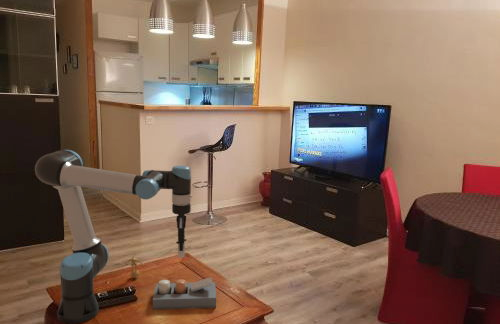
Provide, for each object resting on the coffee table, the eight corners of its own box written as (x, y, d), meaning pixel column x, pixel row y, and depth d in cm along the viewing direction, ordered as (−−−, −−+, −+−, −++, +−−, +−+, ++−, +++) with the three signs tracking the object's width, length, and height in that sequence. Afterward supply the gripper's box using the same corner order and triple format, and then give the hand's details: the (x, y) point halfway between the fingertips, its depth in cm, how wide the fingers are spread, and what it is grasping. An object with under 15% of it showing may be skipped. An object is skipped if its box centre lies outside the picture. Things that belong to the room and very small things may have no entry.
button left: (158, 294, 168) (158, 285, 167) (159, 289, 172) (159, 279, 171) (169, 294, 168) (169, 284, 167) (170, 289, 173) (170, 279, 172)
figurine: (144, 276, 192) (144, 252, 190) (141, 282, 187) (141, 257, 184) (127, 275, 192) (126, 252, 190) (124, 281, 186) (123, 257, 184)
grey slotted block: (152, 309, 164) (152, 296, 163) (156, 292, 177) (156, 280, 176) (216, 307, 167) (216, 295, 166) (214, 291, 181) (215, 279, 180)
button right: (174, 294, 169) (175, 284, 168) (175, 289, 173) (175, 279, 172) (185, 294, 169) (186, 284, 168) (186, 288, 174) (186, 279, 173)
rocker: (192, 293, 169) (190, 289, 168) (192, 286, 175) (191, 283, 174) (212, 286, 169) (211, 283, 169) (211, 280, 175) (210, 276, 175)
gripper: (190, 207, 158) (189, 263, 162) (190, 199, 171) (190, 250, 175) (171, 207, 157) (171, 263, 161) (173, 199, 170) (173, 251, 174)
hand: (181, 256), depth 168 cm, fingers closed
